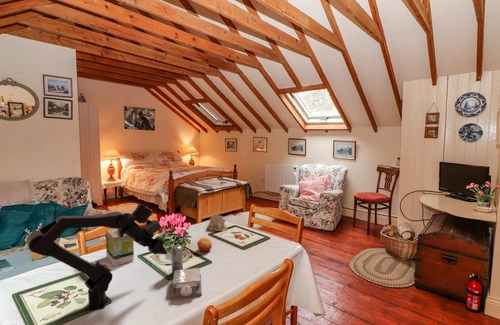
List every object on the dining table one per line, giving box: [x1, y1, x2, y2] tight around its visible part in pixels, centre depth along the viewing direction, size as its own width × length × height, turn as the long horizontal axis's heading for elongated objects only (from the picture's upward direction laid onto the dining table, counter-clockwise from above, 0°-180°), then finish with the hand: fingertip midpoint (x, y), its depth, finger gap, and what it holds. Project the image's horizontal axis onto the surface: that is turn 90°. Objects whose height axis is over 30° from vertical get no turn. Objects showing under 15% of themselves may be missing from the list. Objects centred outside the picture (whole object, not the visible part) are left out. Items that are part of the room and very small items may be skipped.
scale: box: [170, 273, 202, 300], centre depth 114 cm, size 15×12×5 cm
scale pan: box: [172, 267, 201, 289], centre depth 116 cm, size 11×11×2 cm
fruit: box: [197, 237, 213, 253], centre depth 152 cm, size 8×8×8 cm
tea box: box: [105, 228, 135, 267], centre depth 140 cm, size 15×10×15 cm, turn 41°
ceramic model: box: [206, 214, 227, 232], centre depth 188 cm, size 14×11×10 cm
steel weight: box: [171, 244, 184, 275], centre depth 127 cm, size 5×5×12 cm
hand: (161, 250), depth 120 cm, fingers open, 9 cm apart
